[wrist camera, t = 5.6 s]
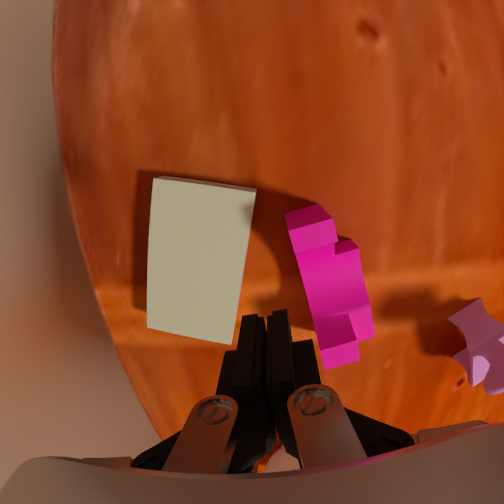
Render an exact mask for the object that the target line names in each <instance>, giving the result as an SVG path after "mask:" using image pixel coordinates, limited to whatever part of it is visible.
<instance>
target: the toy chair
mask: <svg viewBox="0 0 504 504" xmlns="http://www.w3.org/2000/svg"><path fill="white" fill-rule="evenodd" d="M447 319H448V321H450V322H451V323H453V324H455V325H456V326H457V327H459V328H460V329H461V330H462V331H463V333H464V335H465V338H466V344H467V347H466V348H465V349H463V350H461V351H460V352H458V353H457V354H455V355H453V356H452V358H453V359H454V360H456V361H457V362H458V363H460V364H461V365H462V366H463V367H464V368H465V370H466V372H467V375H468V381H469V383H471V385H472V386H475V385H477V384H478V383H480V382H481V381H482V380H484V381H483V387H484V391H485V392H486V393H487V394H490V395H494V394H499V393H502V392H504V325H503V324H502V323H501V322H499V321H497V320H495V319H494V318H492V317H491V316H490V315H489V314H488V313H487V312H486V310H485V308H484V305H483V302H482V299H481V298H479V299H477V300H476V301H474V302H473V303H471V304H469V305H468V306H466V307H465V308H463V309H461V310H460V311H458V312H457V313H455V314H453V315H451V316H450V317H448V318H447Z"/></svg>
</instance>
